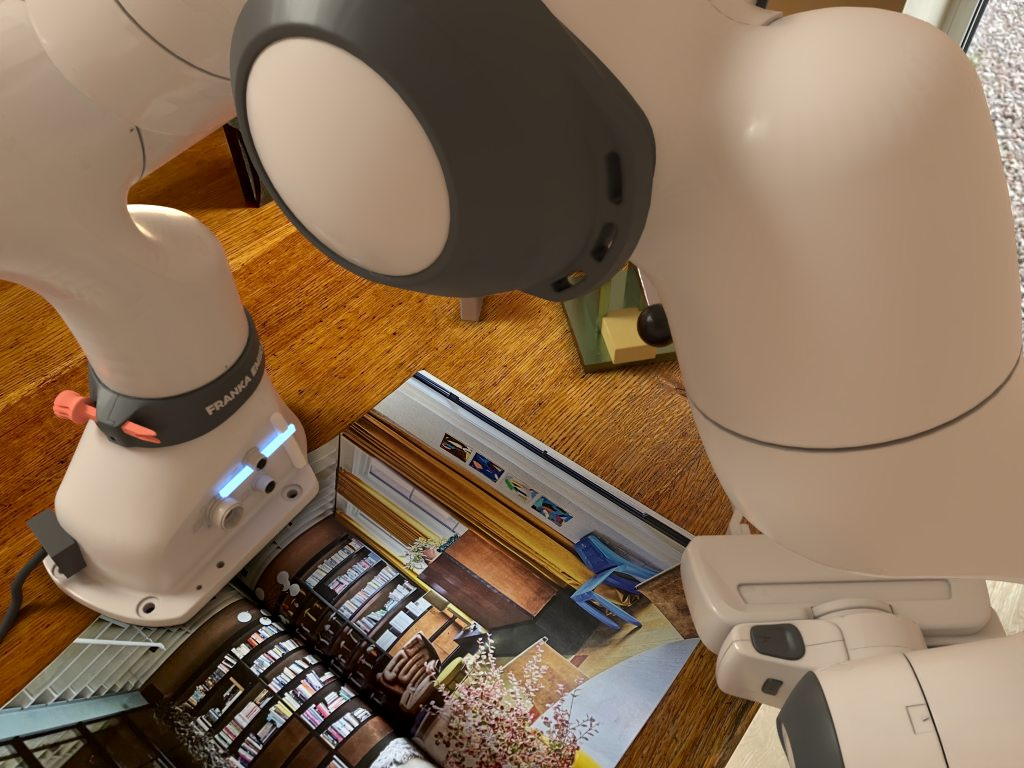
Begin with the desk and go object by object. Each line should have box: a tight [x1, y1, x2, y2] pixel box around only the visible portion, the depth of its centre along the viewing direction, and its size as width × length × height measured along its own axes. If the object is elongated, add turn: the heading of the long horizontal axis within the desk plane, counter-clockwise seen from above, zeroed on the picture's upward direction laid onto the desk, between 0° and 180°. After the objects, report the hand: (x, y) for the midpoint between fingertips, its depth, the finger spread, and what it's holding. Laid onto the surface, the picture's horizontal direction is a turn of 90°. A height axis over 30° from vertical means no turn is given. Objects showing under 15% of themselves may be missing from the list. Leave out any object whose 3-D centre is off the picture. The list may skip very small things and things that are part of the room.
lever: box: [633, 264, 673, 348], centre depth 72 cm, size 14×4×4 cm, turn 11°
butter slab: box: [601, 307, 657, 364], centre depth 80 cm, size 5×4×2 cm
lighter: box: [459, 296, 485, 322], centre depth 83 cm, size 7×2×8 cm, turn 172°
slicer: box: [559, 260, 678, 374], centre depth 78 cm, size 12×9×15 cm
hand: (803, 489), depth 65 cm, fingers open, 8 cm apart
